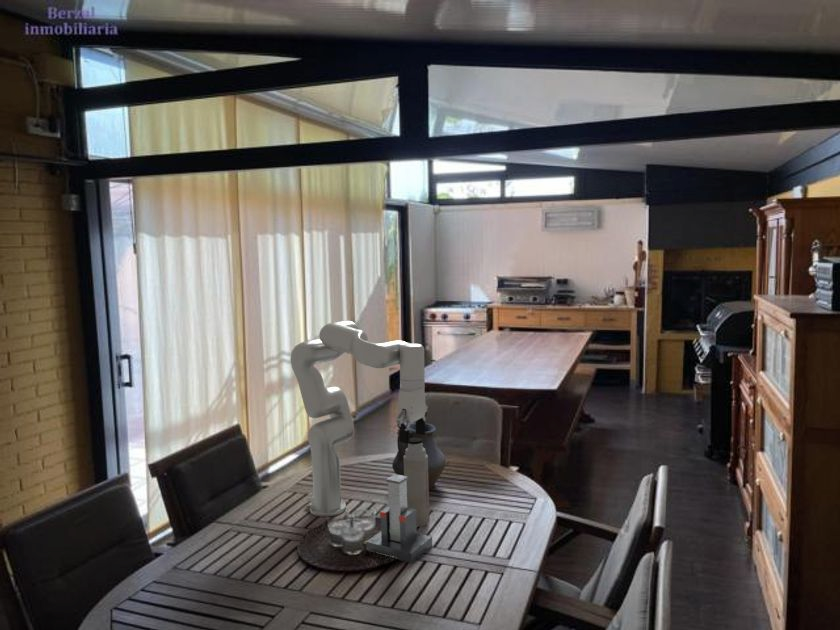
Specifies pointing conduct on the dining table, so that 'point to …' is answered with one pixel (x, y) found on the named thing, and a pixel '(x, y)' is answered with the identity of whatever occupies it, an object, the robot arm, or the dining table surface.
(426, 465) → the thermos bottle
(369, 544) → the base
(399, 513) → the column
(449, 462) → the dining table surface
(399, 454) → the pitcher
